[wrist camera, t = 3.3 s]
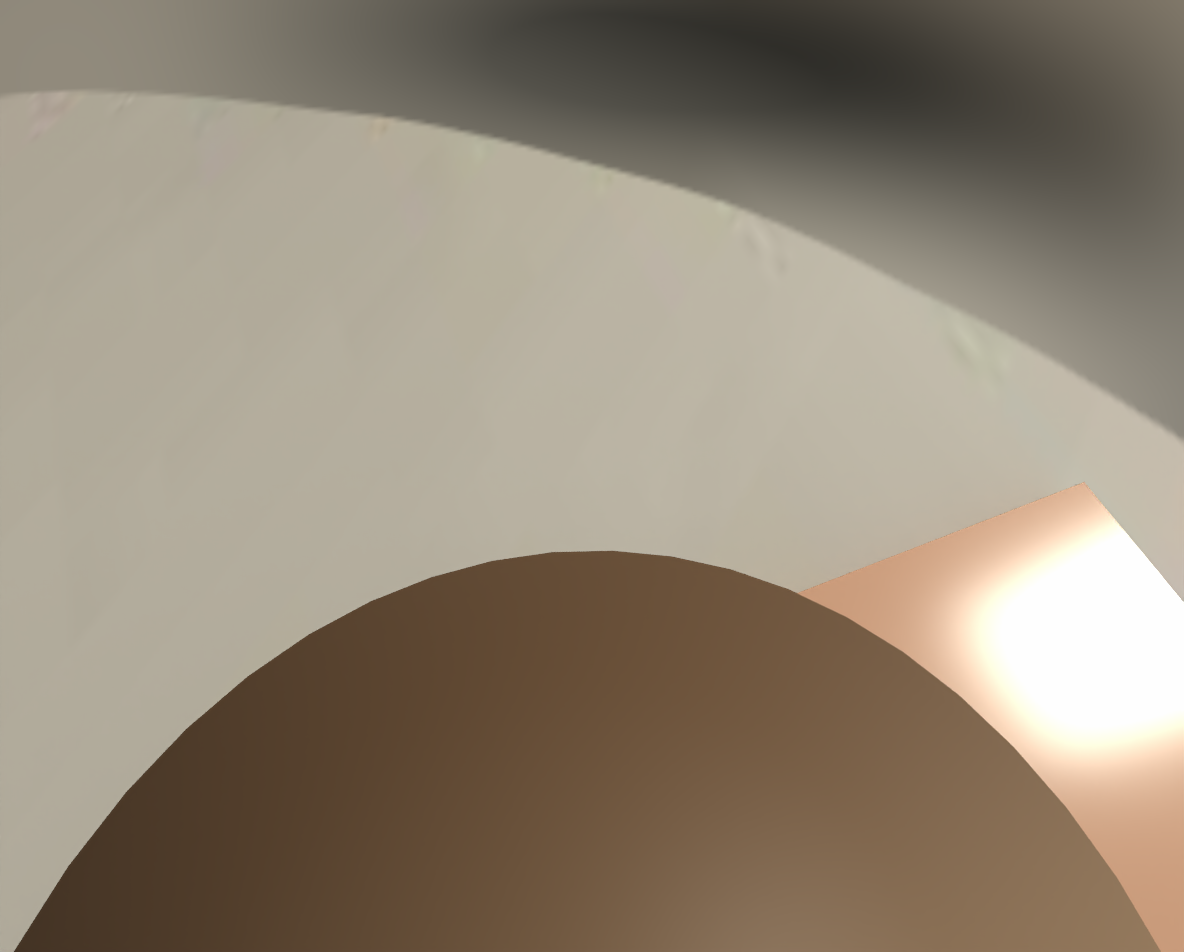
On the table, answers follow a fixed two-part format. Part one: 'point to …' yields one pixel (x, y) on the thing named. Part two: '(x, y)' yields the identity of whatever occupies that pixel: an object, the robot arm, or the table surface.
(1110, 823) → the tile rest
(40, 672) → the table surface
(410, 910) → the tamper
